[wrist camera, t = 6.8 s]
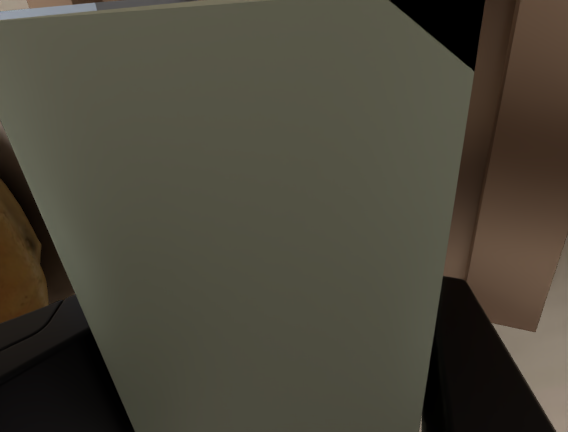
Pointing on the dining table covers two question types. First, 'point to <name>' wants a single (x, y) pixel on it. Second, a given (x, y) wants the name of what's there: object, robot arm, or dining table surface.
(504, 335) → the dining table surface
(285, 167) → the sage block
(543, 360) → the dining table surface
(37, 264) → the ceramic pitcher
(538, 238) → the slot rack
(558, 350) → the dining table surface
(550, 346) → the dining table surface
